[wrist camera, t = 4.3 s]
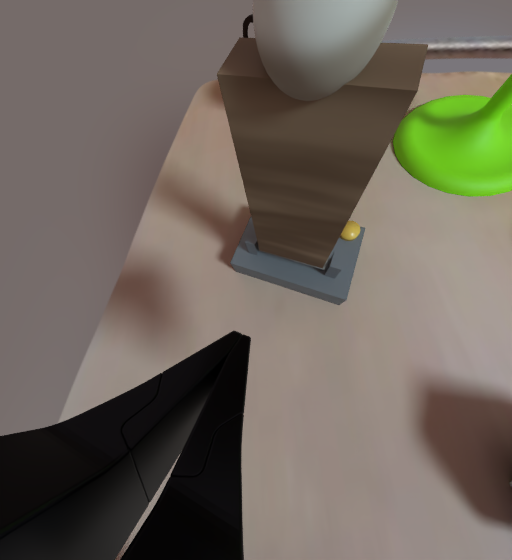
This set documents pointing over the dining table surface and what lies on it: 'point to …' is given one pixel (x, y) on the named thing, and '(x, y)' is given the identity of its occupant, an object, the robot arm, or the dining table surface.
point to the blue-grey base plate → (303, 265)
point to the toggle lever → (314, 115)
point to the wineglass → (460, 143)
